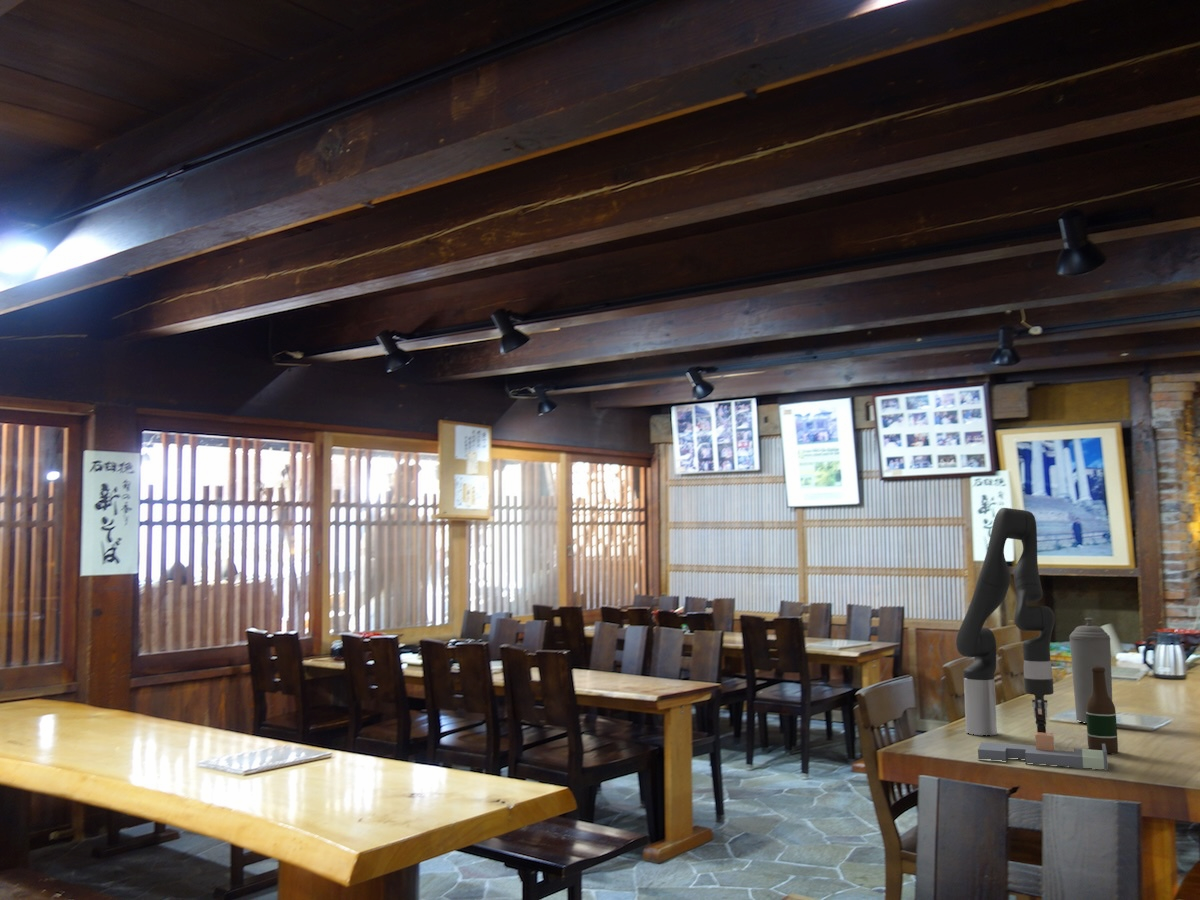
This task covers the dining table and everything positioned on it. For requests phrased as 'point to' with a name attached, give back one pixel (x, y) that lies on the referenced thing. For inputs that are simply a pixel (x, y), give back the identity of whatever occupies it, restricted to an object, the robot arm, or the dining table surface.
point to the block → (1044, 741)
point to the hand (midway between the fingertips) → (1042, 738)
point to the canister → (1088, 662)
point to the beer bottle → (1101, 715)
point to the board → (1045, 755)
